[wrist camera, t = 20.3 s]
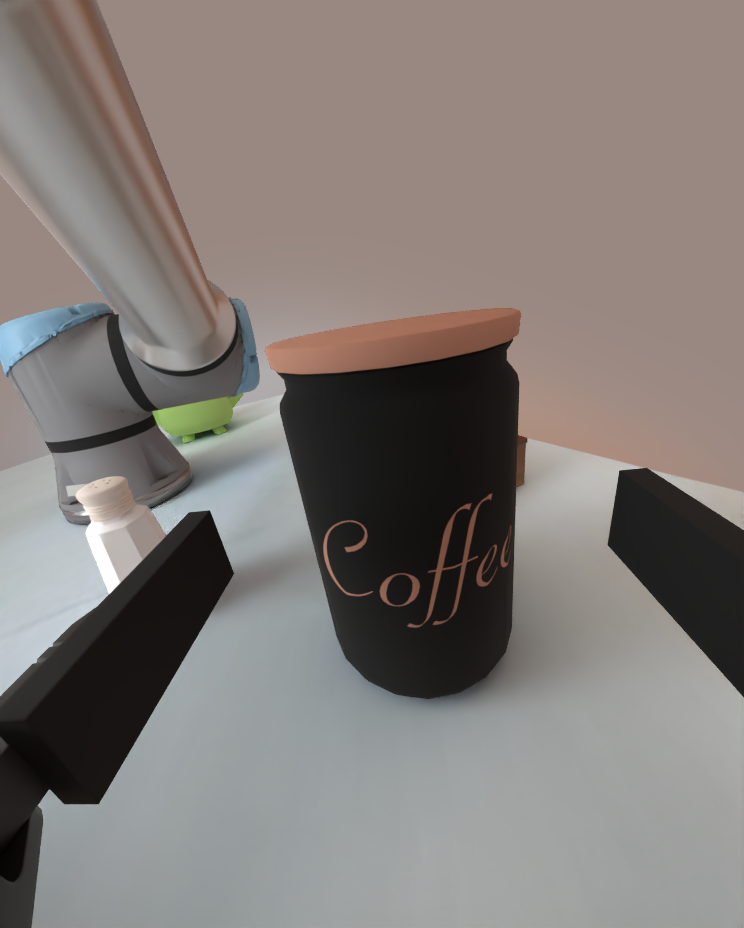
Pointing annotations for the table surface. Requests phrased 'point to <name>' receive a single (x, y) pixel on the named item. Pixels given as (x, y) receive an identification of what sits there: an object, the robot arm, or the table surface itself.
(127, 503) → the pepper shaker
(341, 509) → the coffee jar
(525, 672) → the table surface
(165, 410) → the teapot
